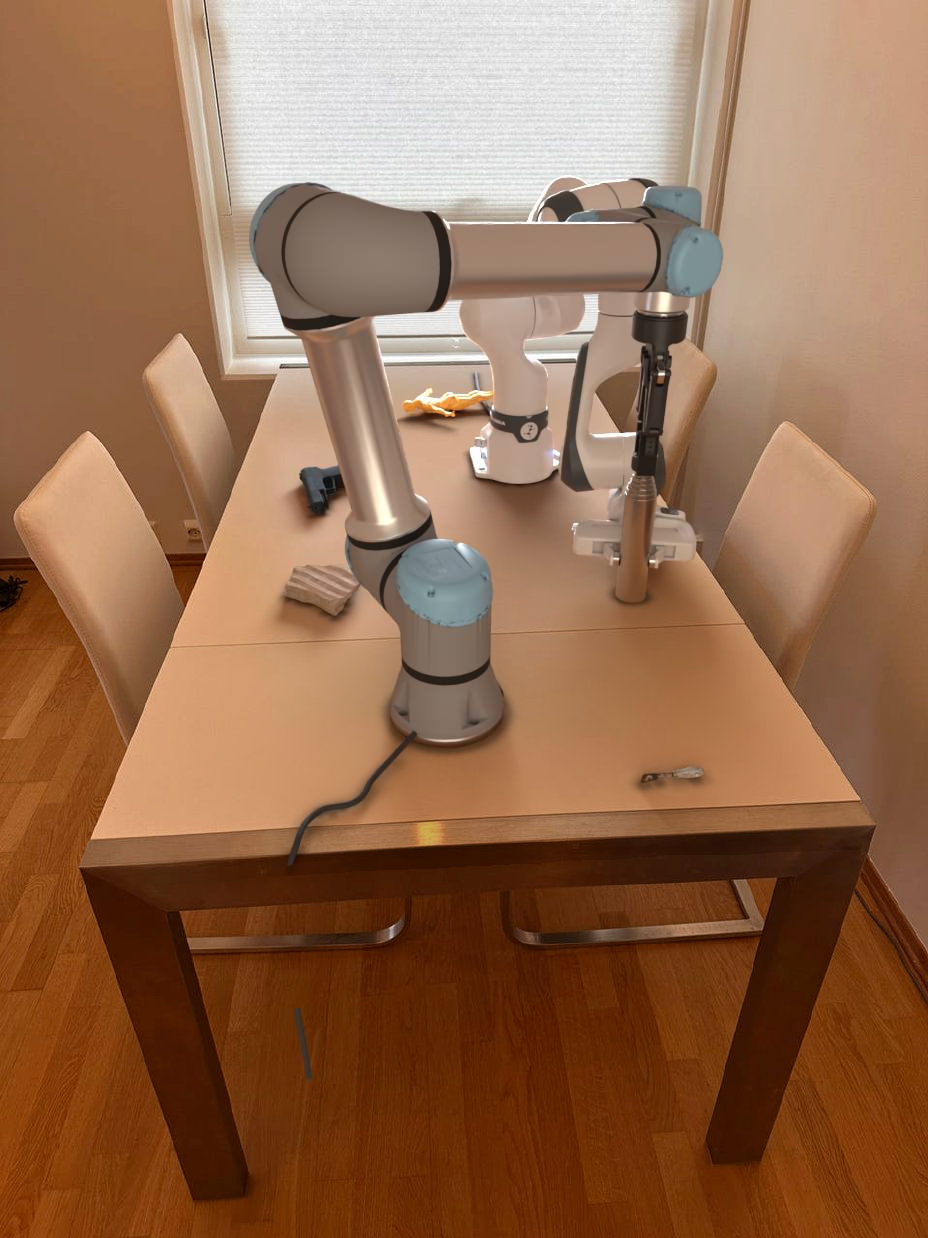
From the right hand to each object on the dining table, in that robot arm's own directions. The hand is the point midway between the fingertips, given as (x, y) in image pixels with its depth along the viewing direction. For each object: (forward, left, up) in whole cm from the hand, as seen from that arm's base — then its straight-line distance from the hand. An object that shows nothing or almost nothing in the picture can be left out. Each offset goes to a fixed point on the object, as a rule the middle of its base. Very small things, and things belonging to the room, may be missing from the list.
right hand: (634, 563), depth 143 cm
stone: (-16, -48, -7) cm, 51 cm away
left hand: (-1, 0, +16) cm, 16 cm away
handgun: (-56, -40, -7) cm, 69 cm away
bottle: (-1, 0, -7) cm, 7 cm away
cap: (-1, 0, +18) cm, 18 cm away
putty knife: (+42, -15, -7) cm, 45 cm away
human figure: (-98, -2, -7) cm, 99 cm away
